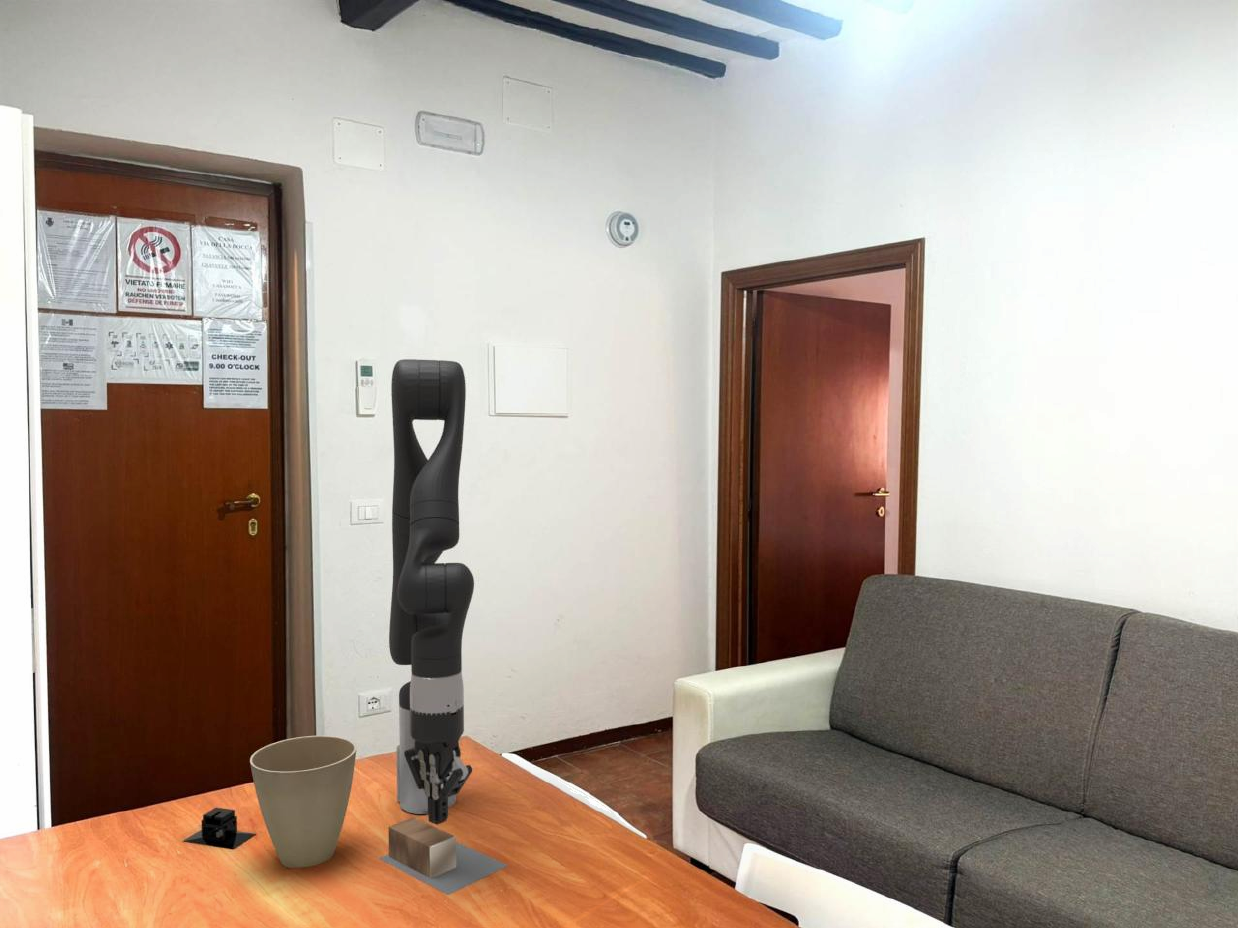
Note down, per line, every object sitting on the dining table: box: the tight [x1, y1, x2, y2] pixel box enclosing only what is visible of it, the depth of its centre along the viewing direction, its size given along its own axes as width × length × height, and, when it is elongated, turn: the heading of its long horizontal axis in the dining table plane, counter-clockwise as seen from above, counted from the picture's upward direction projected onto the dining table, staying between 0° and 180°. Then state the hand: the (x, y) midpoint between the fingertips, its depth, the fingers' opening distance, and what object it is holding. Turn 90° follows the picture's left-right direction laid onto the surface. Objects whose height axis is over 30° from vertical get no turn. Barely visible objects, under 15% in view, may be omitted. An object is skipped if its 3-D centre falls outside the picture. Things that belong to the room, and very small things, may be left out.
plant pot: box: [249, 735, 357, 869], centre depth 141 cm, size 15×15×16 cm
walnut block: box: [388, 817, 457, 879], centre depth 139 cm, size 4×4×10 cm
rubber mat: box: [378, 841, 509, 896], centre depth 139 cm, size 16×11×1 cm
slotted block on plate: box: [182, 807, 258, 850], centre depth 148 cm, size 12×7×5 cm, turn 74°
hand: (438, 821), depth 136 cm, fingers closed
